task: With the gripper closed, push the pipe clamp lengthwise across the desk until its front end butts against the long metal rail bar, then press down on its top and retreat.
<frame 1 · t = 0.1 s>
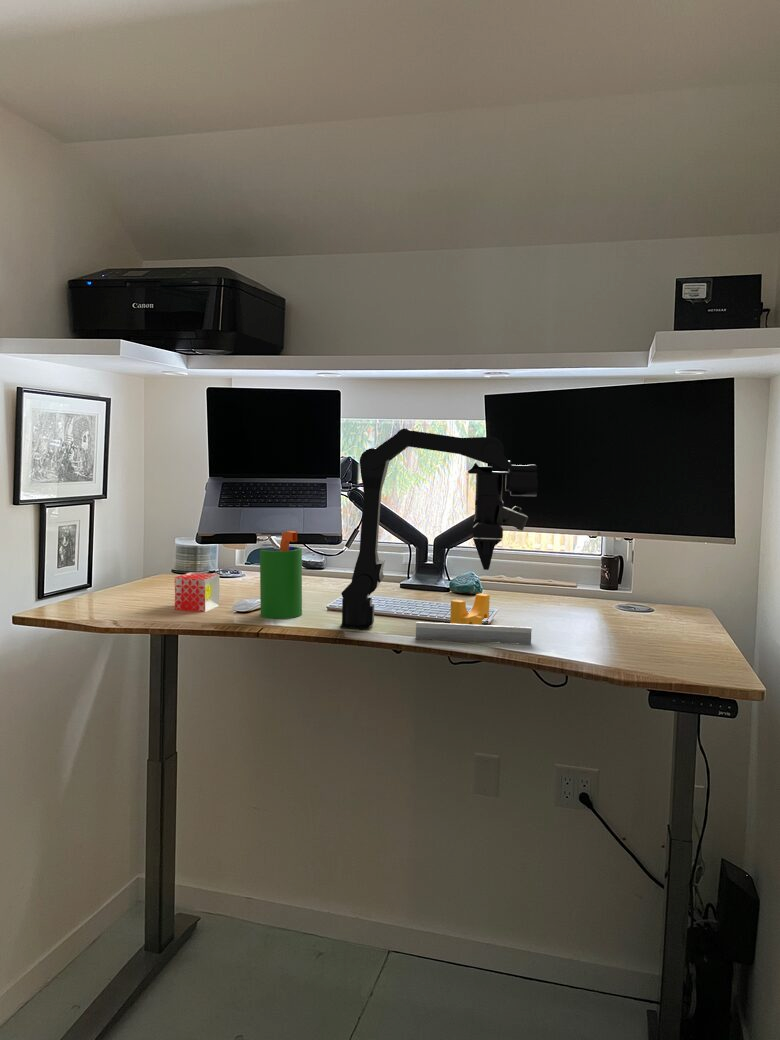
hand: (486, 566, 173), 15 cm above the table, tool pointing down, fingers open, 9 cm apart
puzzle cube: (197, 608, 193), on the table
pipe clamp: (473, 627, 181), on the table
motor: (282, 615, 188), on the table
rail: (472, 640, 167), on the table
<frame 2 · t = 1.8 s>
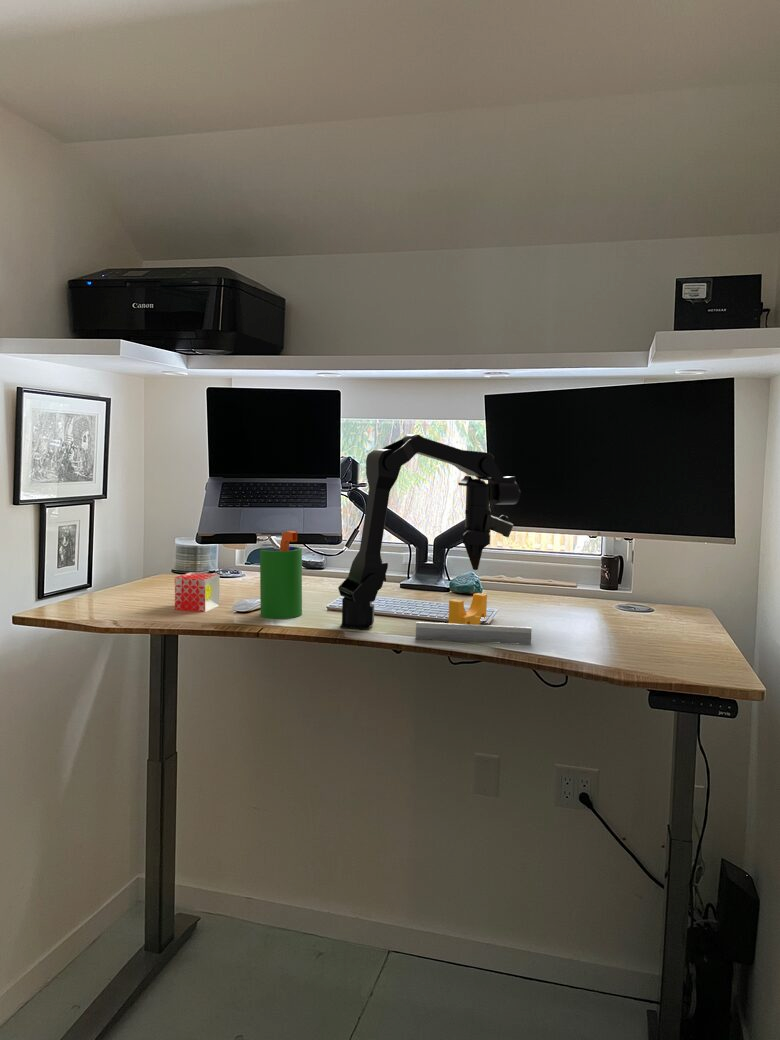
hand: (475, 569, 191), 11 cm above the table, tool pointing down, fingers closed
nothing on the table moved.
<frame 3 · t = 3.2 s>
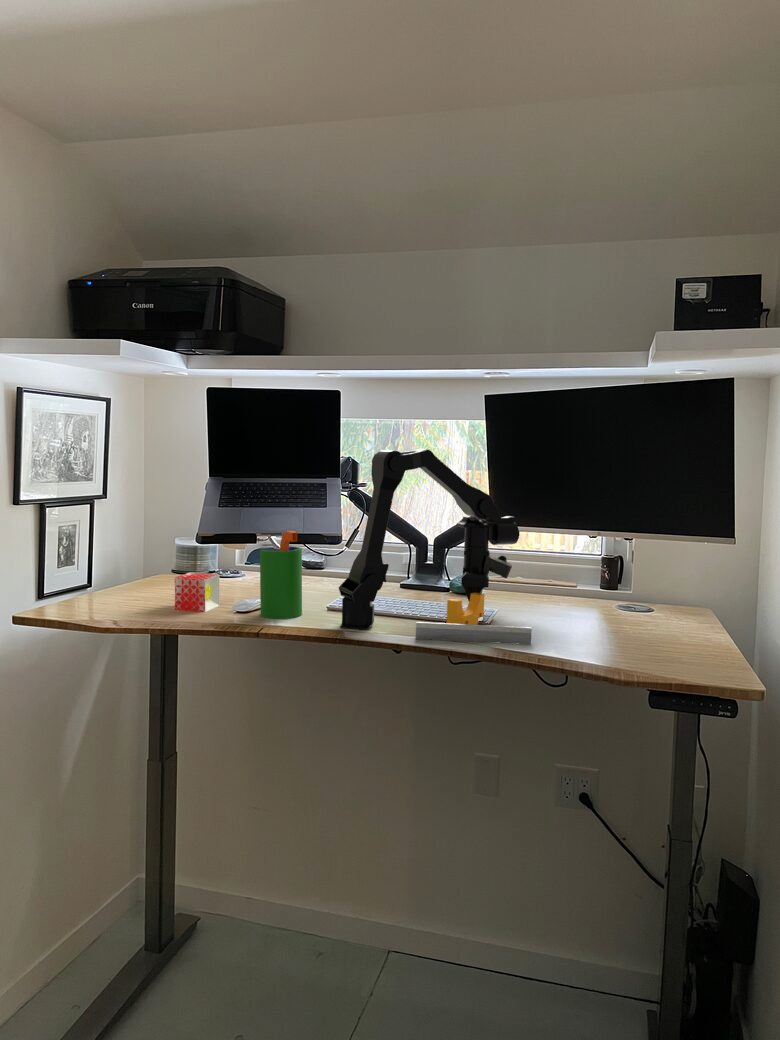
hand: (474, 610, 190), 1 cm above the table, tool pointing down, fingers closed
pipe clamp: (468, 625, 182), on the table, touching gripper
everything else where it was.
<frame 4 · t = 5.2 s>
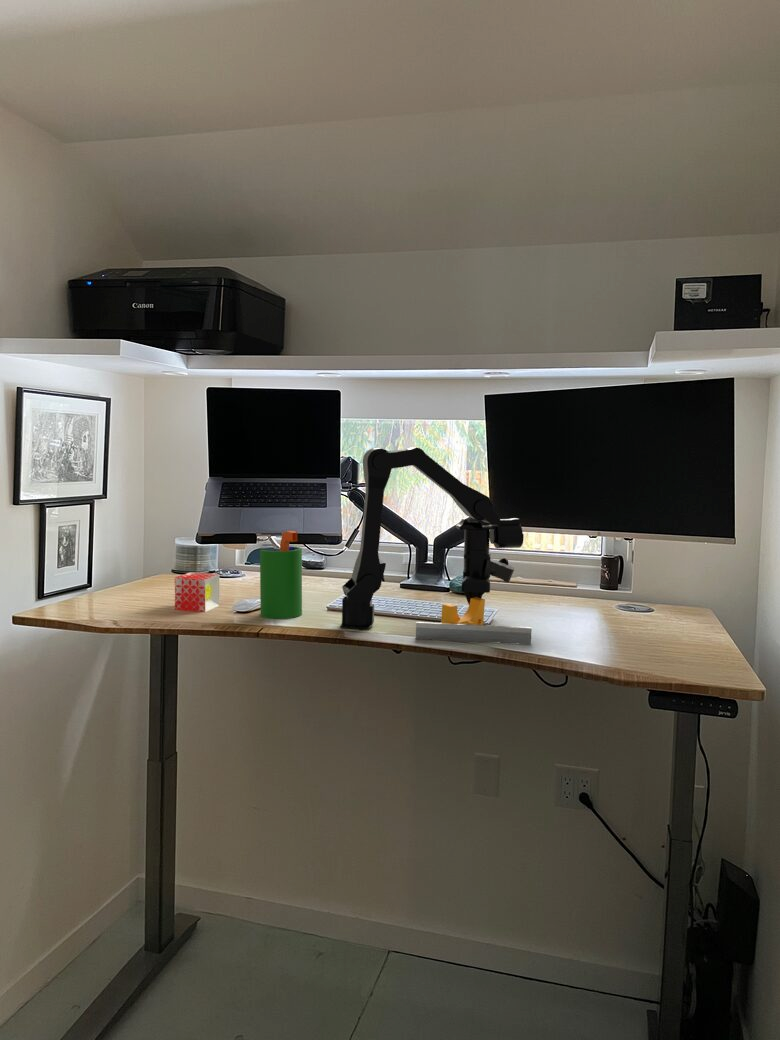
hand: (475, 615, 183), 2 cm above the table, tool pointing down, fingers closed
pipe clamp: (465, 632, 175), on the table, touching gripper
everything else where it was.
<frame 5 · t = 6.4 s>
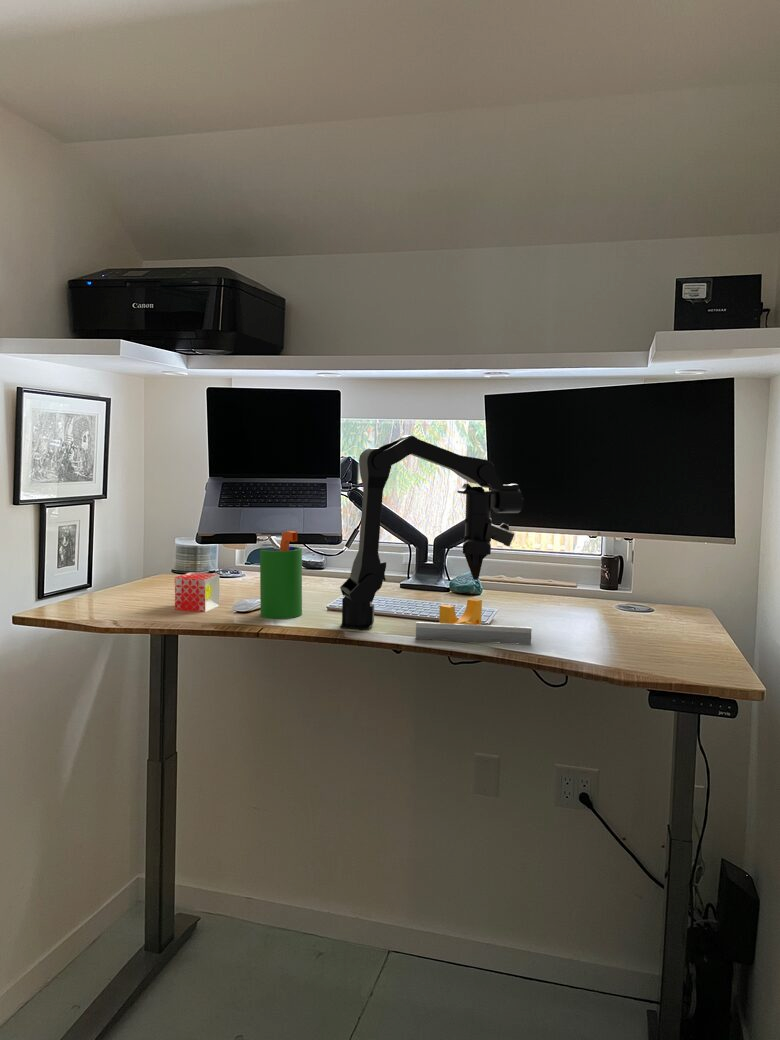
hand: (475, 579, 186), 10 cm above the table, tool pointing down, fingers closed
pipe clamp: (463, 633, 175), on the table
everything else where it was.
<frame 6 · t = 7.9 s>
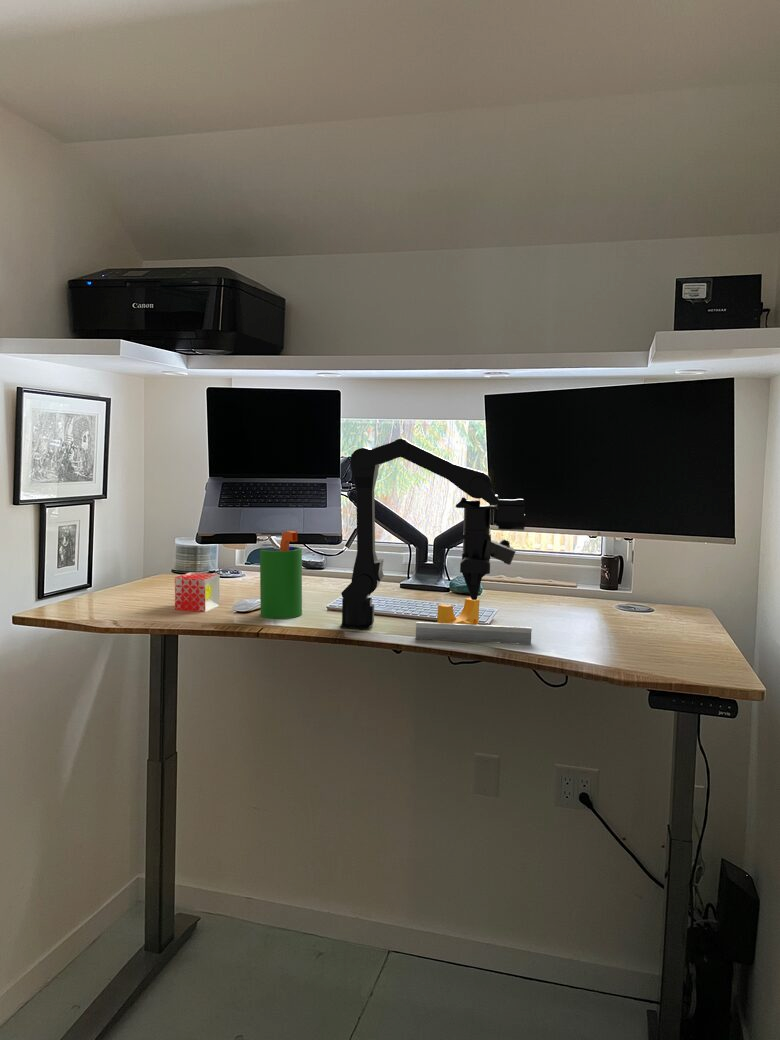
hand: (474, 599, 174), 7 cm above the table, tool pointing down, fingers closed
nothing on the table moved.
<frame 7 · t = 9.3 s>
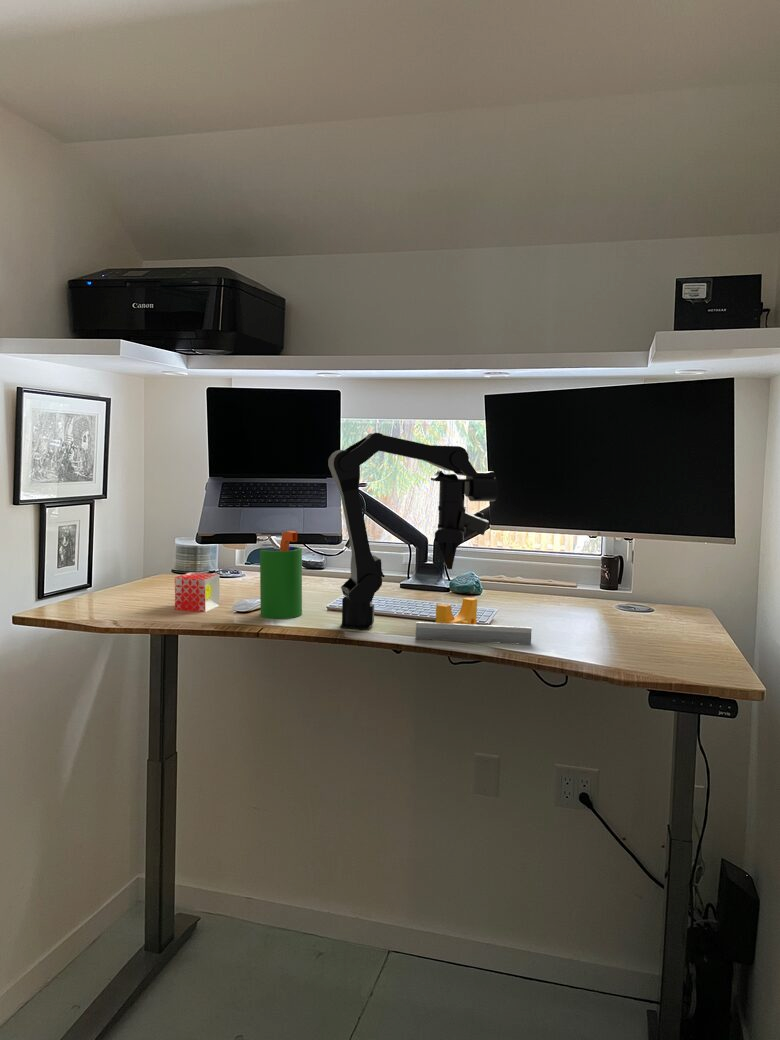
hand: (449, 569, 182), 12 cm above the table, tool pointing down, fingers closed
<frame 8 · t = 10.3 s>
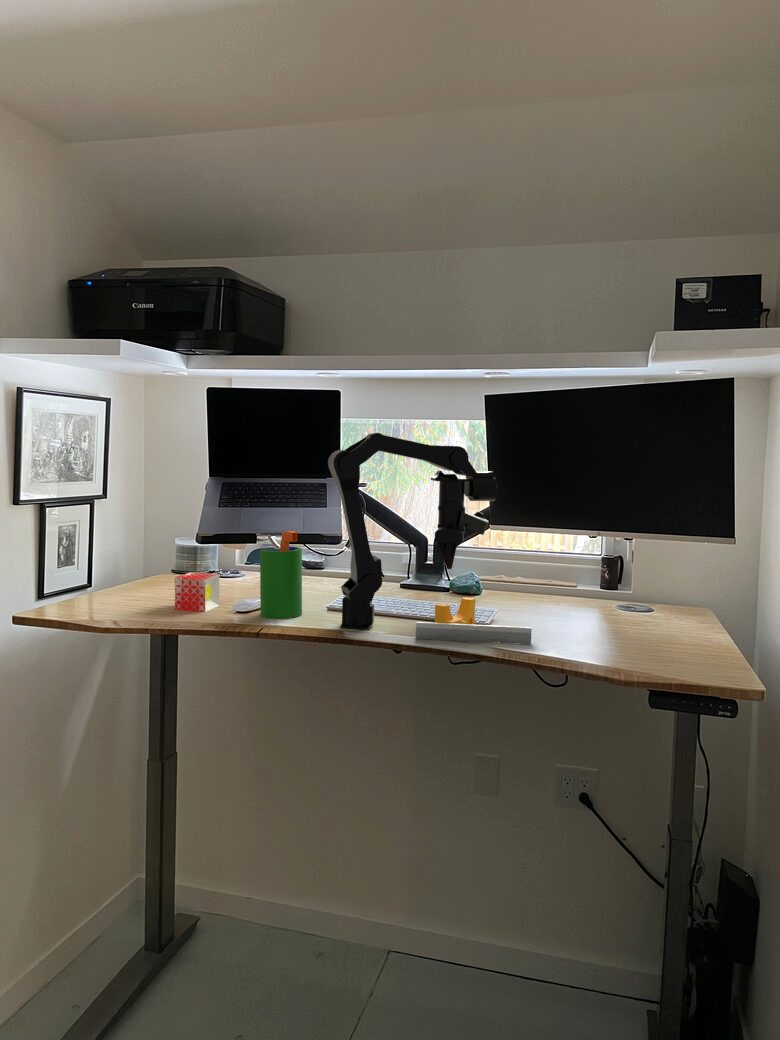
hand: (449, 568, 182), 12 cm above the table, tool pointing down, fingers closed
at the end: pipe clamp inside the target area on the table beside the rail (4.0 cm from its centre), on the table; pipe clamp tilted 0°; pipe clamp moved 6.0 cm from its start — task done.
